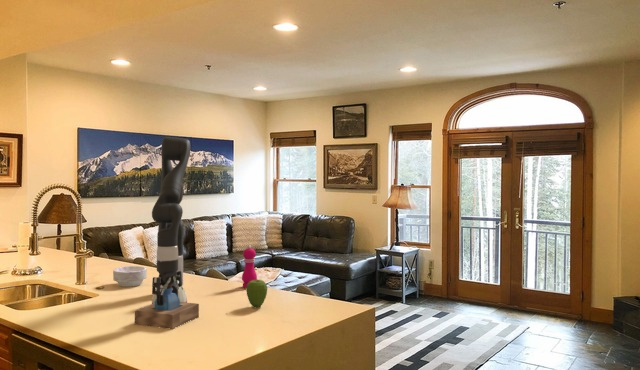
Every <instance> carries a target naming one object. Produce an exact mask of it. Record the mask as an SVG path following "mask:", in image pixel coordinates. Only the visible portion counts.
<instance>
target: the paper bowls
mask: <svg viewBox="0 0 640 370" xmlns="http://www.w3.org/2000/svg"><path fill="white" fill-rule="evenodd" d="M147 271H148V269H147V267H145V266H142V265H141V266H140V265H138V266H137V265H130V266H129V265H128V266H120V267H117V268H114V269H113V272H112V273H113V275H112V276H113V280H112V281H114V282H116V283H117V285H118V286H119V287H121V288H123V287H124V288H132V286H133V287H137V286H140V285H142V284H143V281H144V280H146V279H147V277H148V272H147Z"/></svg>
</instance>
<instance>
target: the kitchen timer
mask: <svg viewBox="0 0 640 370" xmlns="http://www.w3.org/2000/svg"><path fill="white" fill-rule="evenodd" d="M177 282H178V283H179V281H178V280H177ZM161 286H162V285H161ZM156 290H157V288H155V291H156ZM161 290H162V289H160V292H161ZM172 290H173V289H172ZM171 293H172V291H171ZM178 298H179V299H180V302H187V303H188V296H187V293H186V290H185V287H184V284H183V285H182V286H181V287H179V289H178ZM156 299H157V295H156V294H152V299H151V304H154V303H155V300H156Z"/></svg>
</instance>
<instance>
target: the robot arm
mask: <svg viewBox="0 0 640 370" xmlns="http://www.w3.org/2000/svg"><path fill="white" fill-rule="evenodd" d="M160 150H161V151H160V153H161V181H160V194H159V196H158V199H157V200H156V201H155V203H154V206H153V207H152V211H151V217H152V220H153V221H154V222H155V223H158V227H157V236H156V237H157V239H156V240H157V242H156V243H157V246H156V271H157V272H158V276H153V277H152V285H151V286H152V288H151V290H152V291H151V293H152V295H154V294H156V295H157V305H159V306H162V305H163V293H164V291H165V290H166V289H167V287H168V285H171V284H172V286H171V287H172V289H173V290H172V293H175V294H176V295H177V296H178V289H179V287H181V286H182V285H183V286H184V234H185V230H184V229H185V226H184V224H185V223H184V221H183V220H182V218H183V212H184V210H183V207H182V205H180V204H181V202H182V201H183V198H184V183H183V179H184V177H185V173H186V170H187V166H188V163H189V159H190V154H191V142H190V140H189V139H187V138H181V137H173V136H165V137H164V138H163V140H162V142H161V149H160ZM171 161H175V162H178V163H177V165H176V166H174V168H173V165H172V162H171ZM177 280H178V281H179V283H178V282H177ZM161 285H162V286H161ZM156 288H157V290H156V291H155V289H156ZM160 289H162V290H161V292H160Z"/></svg>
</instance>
